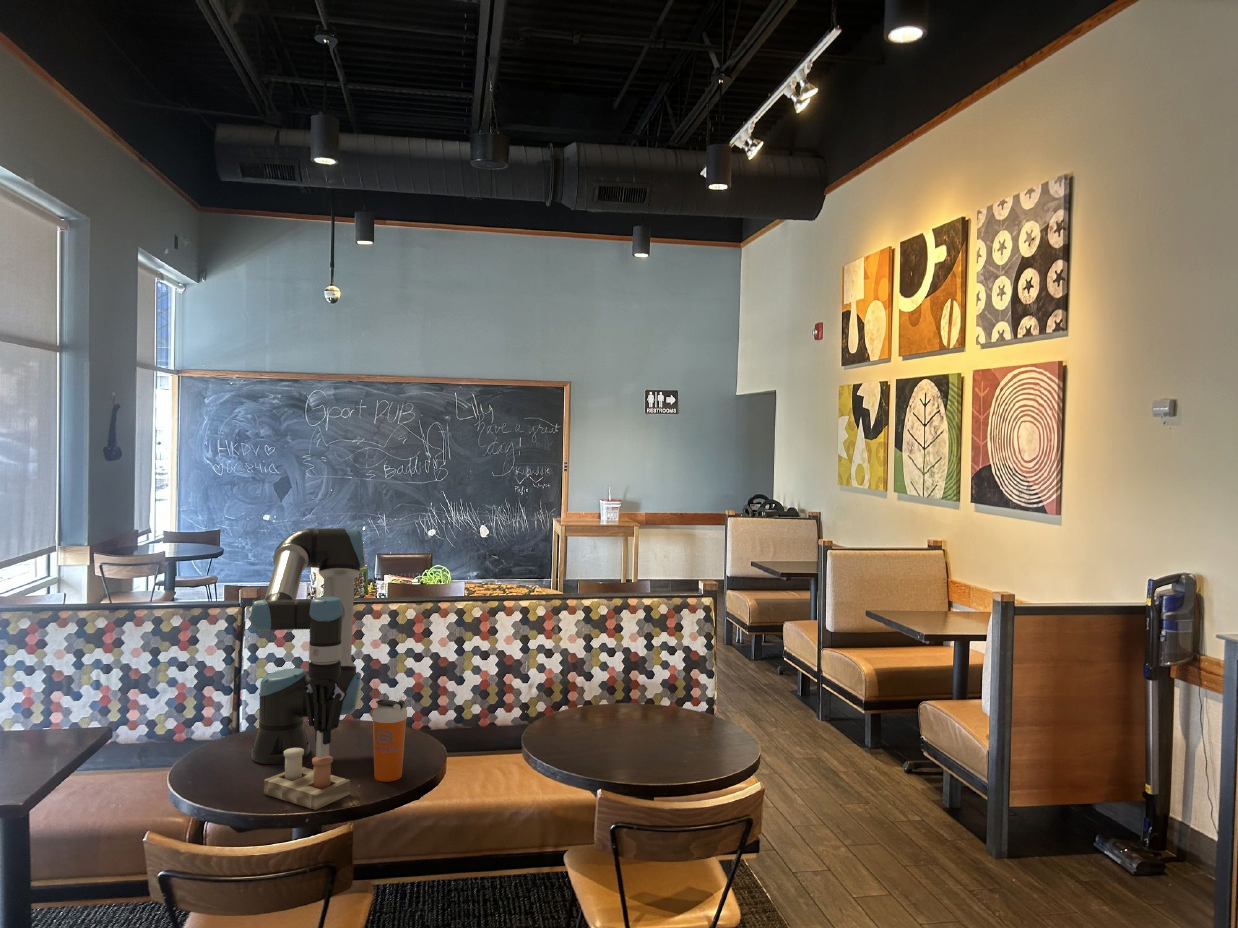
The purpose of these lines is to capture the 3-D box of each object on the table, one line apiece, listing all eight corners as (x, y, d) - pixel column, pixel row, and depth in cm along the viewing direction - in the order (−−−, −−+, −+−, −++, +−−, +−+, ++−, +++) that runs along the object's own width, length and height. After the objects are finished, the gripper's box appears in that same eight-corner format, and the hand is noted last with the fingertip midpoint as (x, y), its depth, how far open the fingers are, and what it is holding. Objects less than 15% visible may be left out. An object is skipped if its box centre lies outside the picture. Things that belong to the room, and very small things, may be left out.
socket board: (263, 793, 211) (264, 779, 210) (299, 779, 220) (299, 765, 220) (315, 809, 202) (316, 795, 202) (350, 793, 212) (350, 780, 212)
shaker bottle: (374, 770, 228) (376, 696, 228) (408, 770, 229) (410, 696, 228) (367, 783, 219) (369, 706, 219) (402, 783, 220) (404, 706, 220)
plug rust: (307, 787, 208) (307, 759, 208) (322, 780, 212) (323, 753, 212) (321, 791, 206) (321, 763, 206) (336, 784, 210) (337, 757, 210)
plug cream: (278, 778, 212) (279, 751, 212) (294, 772, 217) (294, 746, 217) (292, 782, 210) (292, 755, 210) (307, 776, 215) (308, 749, 214)
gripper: (294, 660, 208) (291, 755, 208) (332, 667, 202) (330, 766, 202) (317, 654, 215) (315, 746, 215) (355, 661, 209) (353, 756, 209)
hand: (322, 756), depth 209 cm, fingers closed
